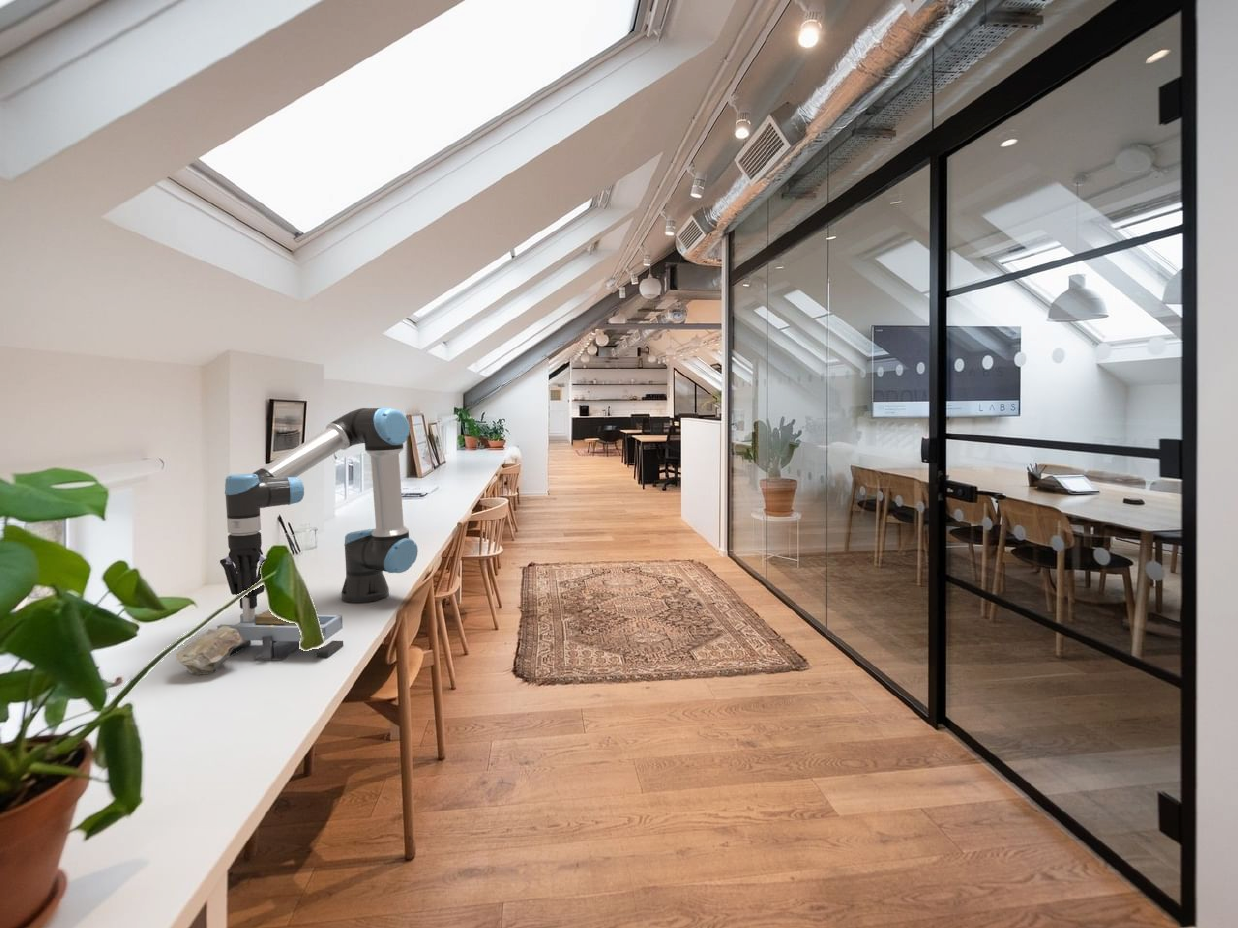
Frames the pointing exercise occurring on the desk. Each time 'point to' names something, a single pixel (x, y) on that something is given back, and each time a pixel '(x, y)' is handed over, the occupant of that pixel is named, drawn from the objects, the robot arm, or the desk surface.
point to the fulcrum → (285, 649)
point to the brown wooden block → (270, 620)
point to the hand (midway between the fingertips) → (249, 619)
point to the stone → (209, 650)
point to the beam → (284, 629)
